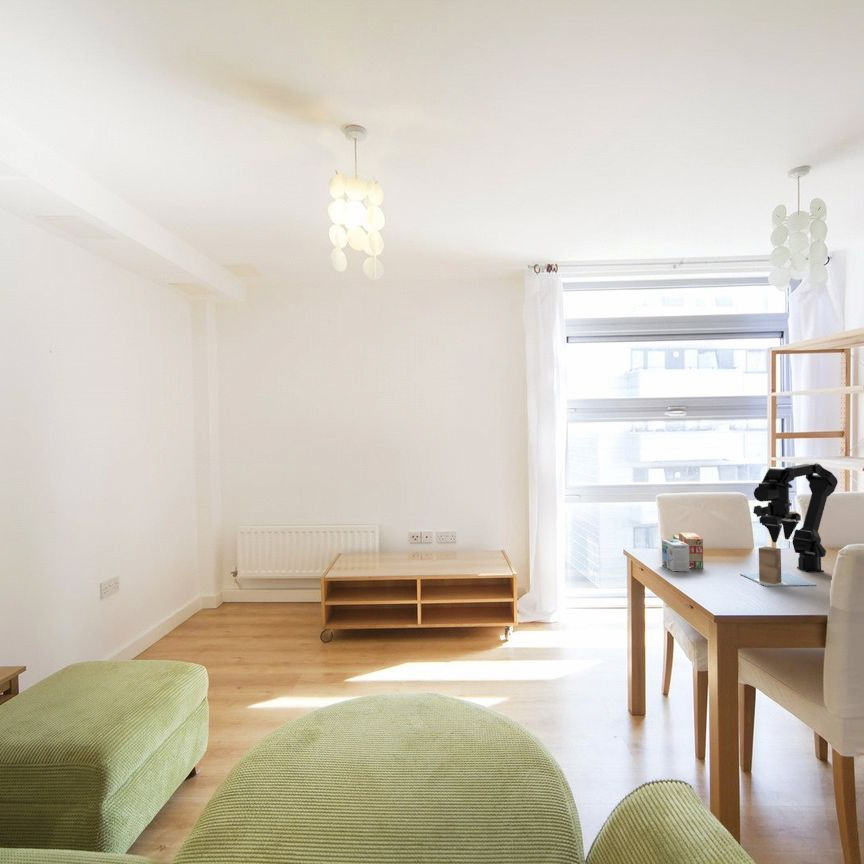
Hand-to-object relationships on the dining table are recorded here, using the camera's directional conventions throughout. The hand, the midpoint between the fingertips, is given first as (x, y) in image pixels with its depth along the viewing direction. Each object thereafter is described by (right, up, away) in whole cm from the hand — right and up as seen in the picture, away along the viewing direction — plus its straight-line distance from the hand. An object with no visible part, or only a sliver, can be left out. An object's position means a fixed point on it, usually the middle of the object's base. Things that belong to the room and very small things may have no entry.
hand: (780, 540), depth 193 cm
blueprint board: (-6, -13, -6) cm, 16 cm away
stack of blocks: (-24, -14, +22) cm, 36 cm away
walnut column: (-11, -13, -10) cm, 19 cm away
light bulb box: (-34, -14, +12) cm, 39 cm away
